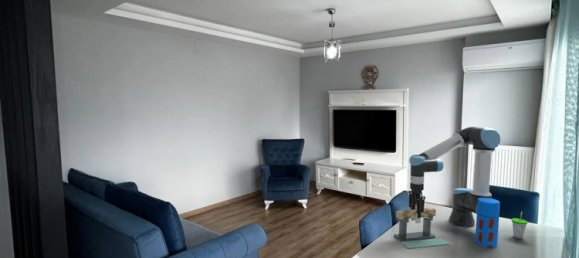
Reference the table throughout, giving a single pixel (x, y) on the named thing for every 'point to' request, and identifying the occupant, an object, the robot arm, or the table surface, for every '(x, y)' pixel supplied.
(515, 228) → the cup
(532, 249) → the table surface
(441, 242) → the mat
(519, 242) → the table surface
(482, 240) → the thermos
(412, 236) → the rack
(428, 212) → the rail
